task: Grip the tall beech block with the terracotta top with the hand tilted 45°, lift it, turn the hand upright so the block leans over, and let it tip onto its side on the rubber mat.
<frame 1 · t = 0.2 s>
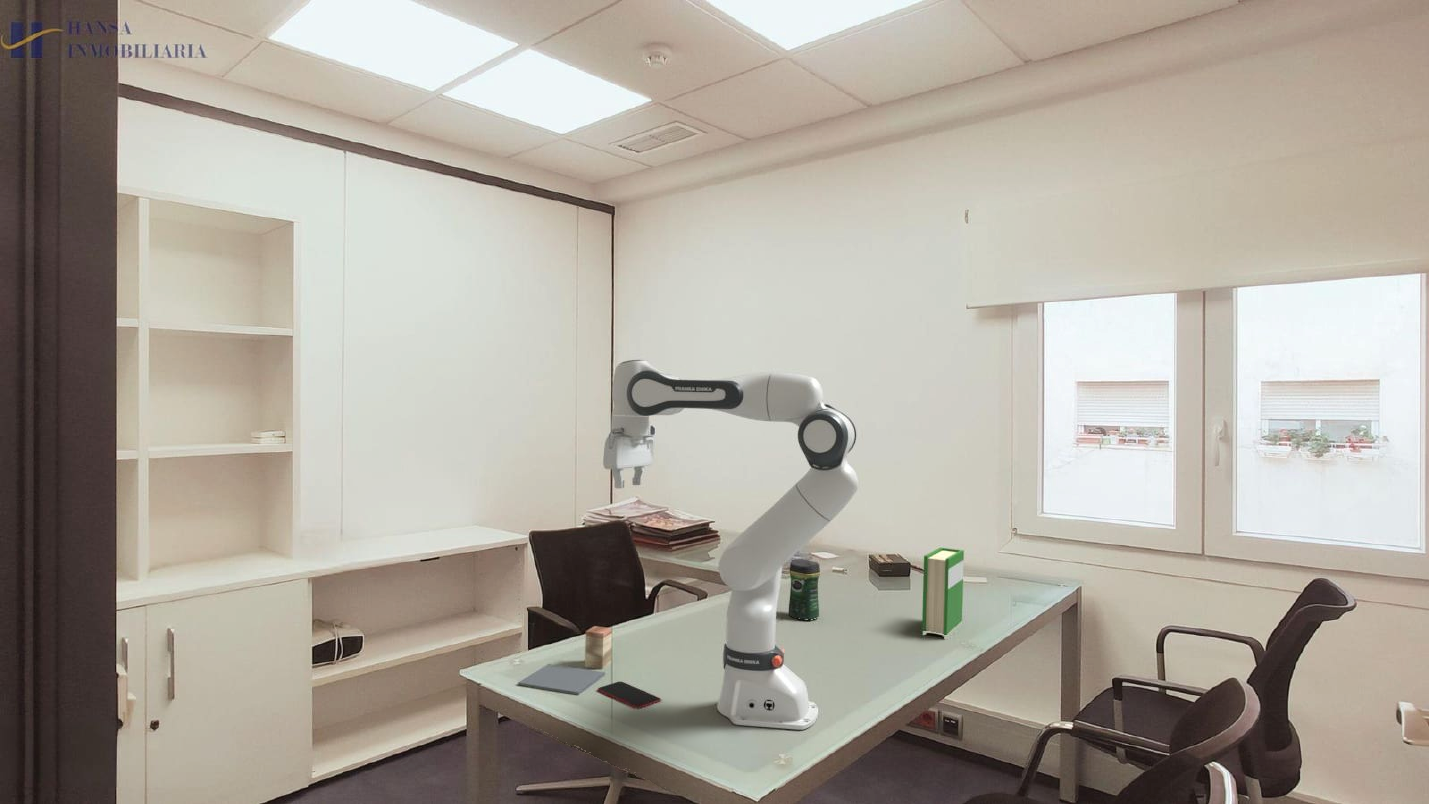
hand: (628, 486, 179), 48 cm above the table, tool pointing down, fingers open, 8 cm apart
smartphone: (628, 698, 175), on the table
hardback book: (942, 631, 234), on the table
coffee jar: (803, 617, 244), on the table
beech block: (597, 664, 195), on the table
rubber mat: (562, 679, 184), on the table
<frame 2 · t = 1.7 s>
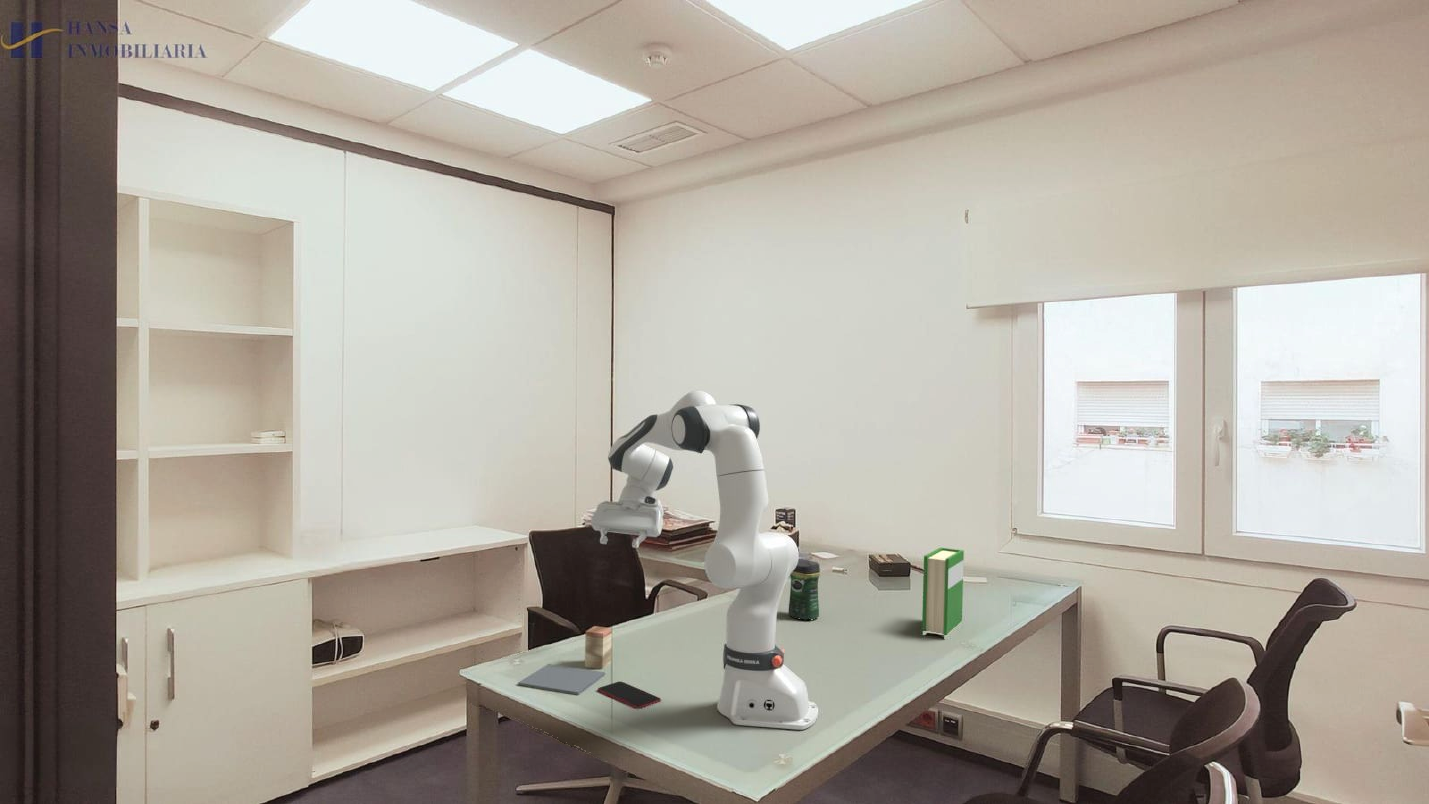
hand: (618, 544, 206), 29 cm above the table, tool tilted 45°, fingers open, 8 cm apart
nothing on the table moved.
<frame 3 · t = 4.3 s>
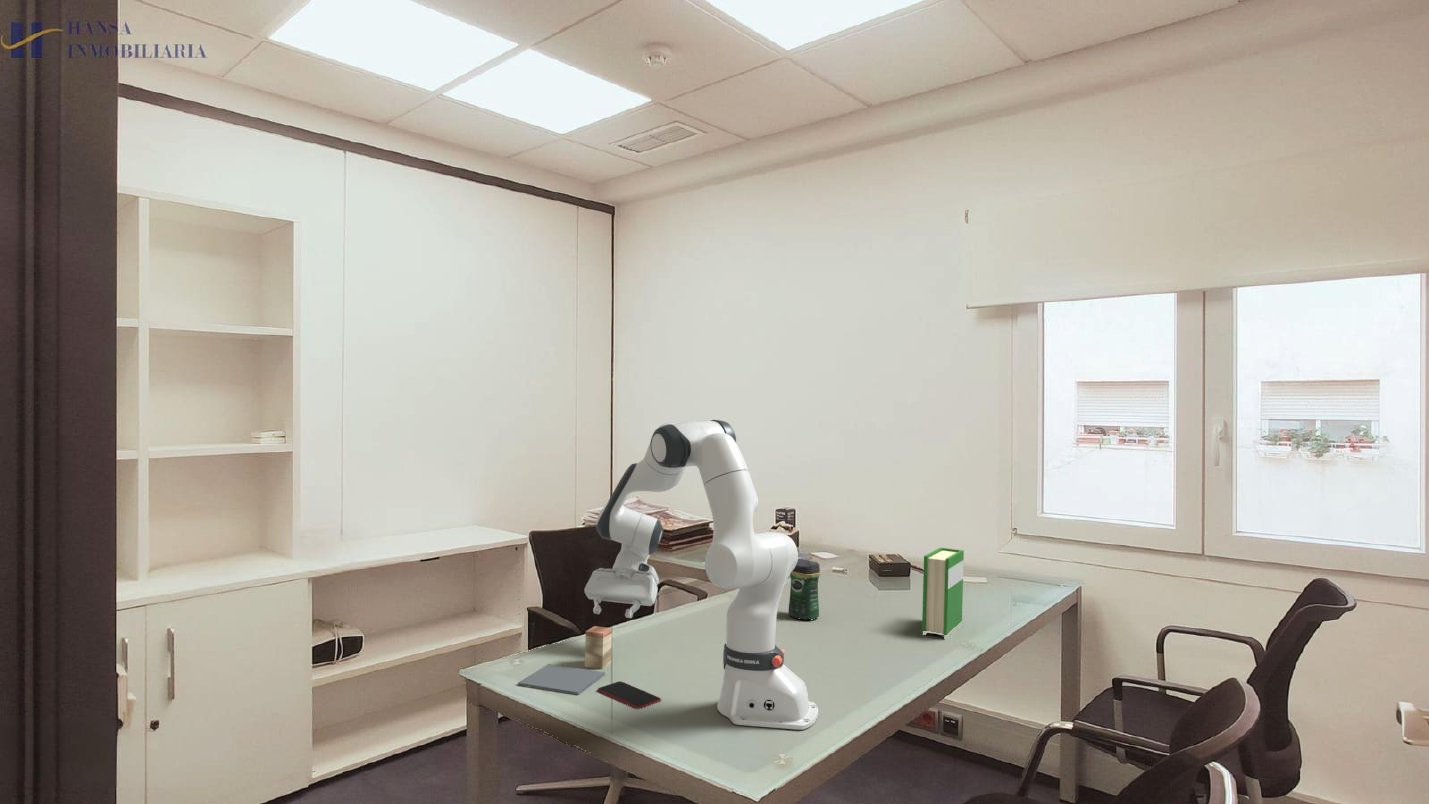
hand: (611, 614, 202), 11 cm above the table, tool tilted 45°, fingers open, 8 cm apart
nothing on the table moved.
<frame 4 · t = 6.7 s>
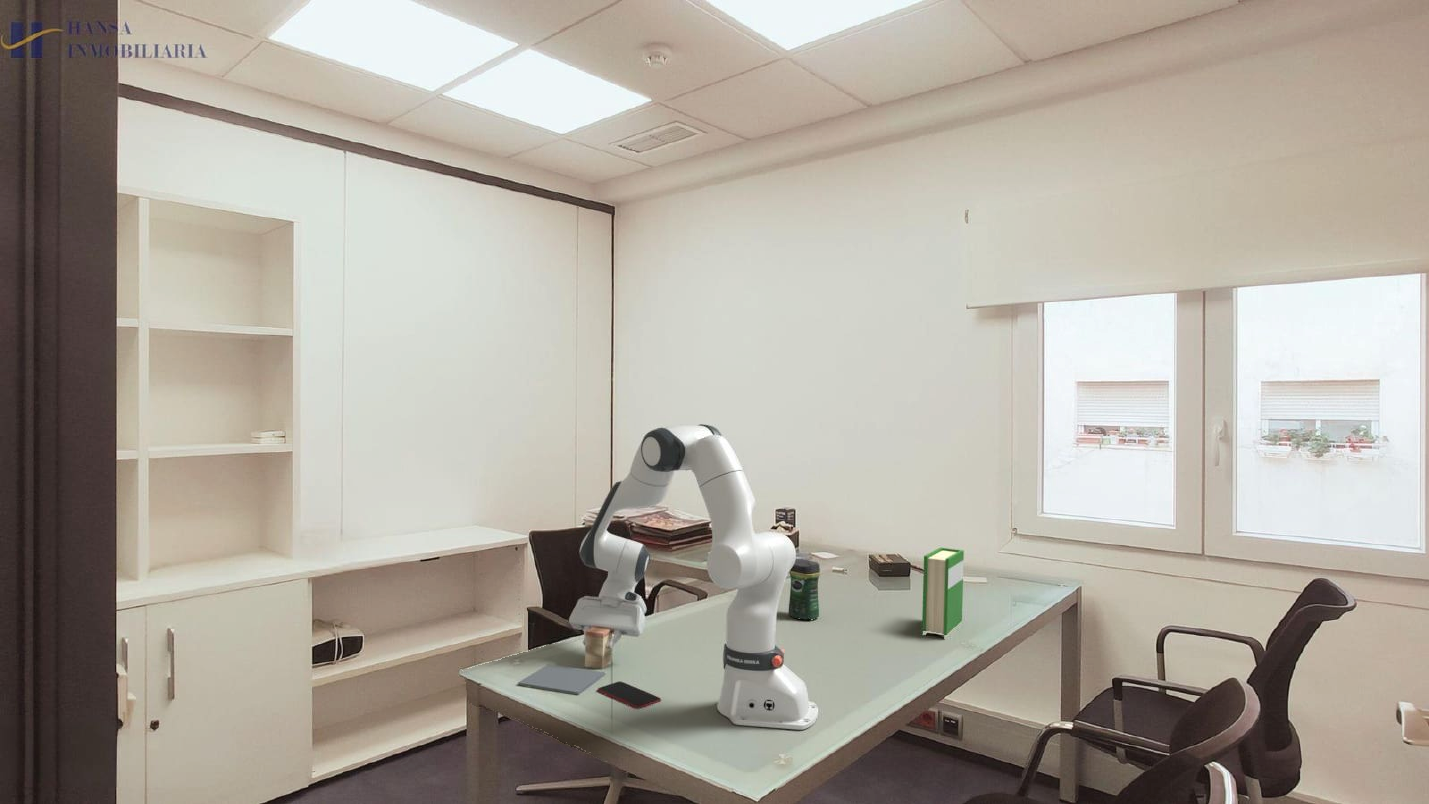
hand: (597, 646, 194), 5 cm above the table, tool tilted 45°, fingers closed on beech block, 5 cm apart
beech block: (597, 664, 195), on the table, touching gripper
everything else where it was.
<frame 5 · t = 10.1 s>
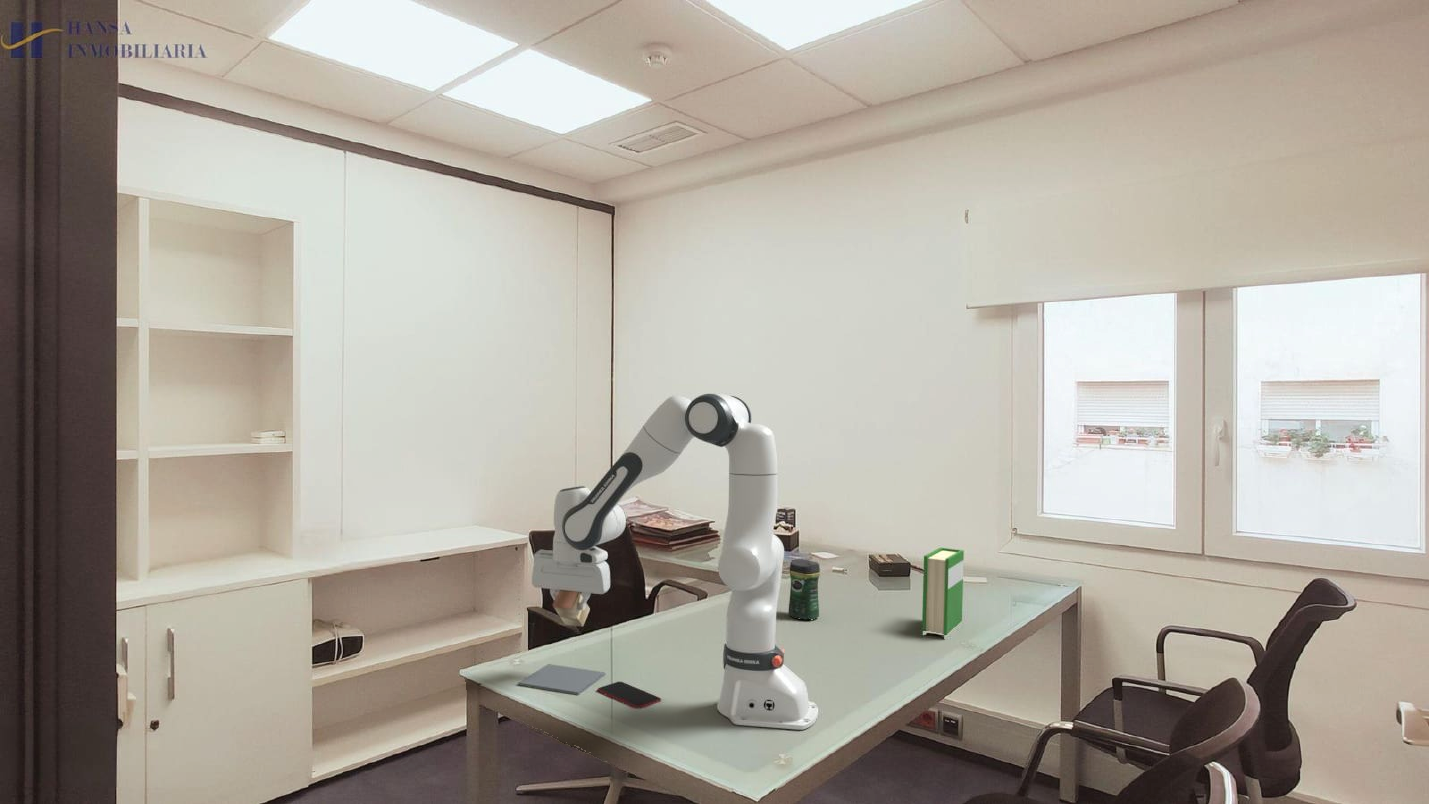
hand: (569, 608, 186), 17 cm above the table, tool pointing down, fingers closed on beech block, 5 cm apart
beech block: (577, 616, 190), point 14 cm above the table, tilted 45°, touching gripper
everything else where it was.
when the fingers open (7 cm above the table, at t = 12.6 s): beech block moves 2 cm and tips over, resting on rubber mat.
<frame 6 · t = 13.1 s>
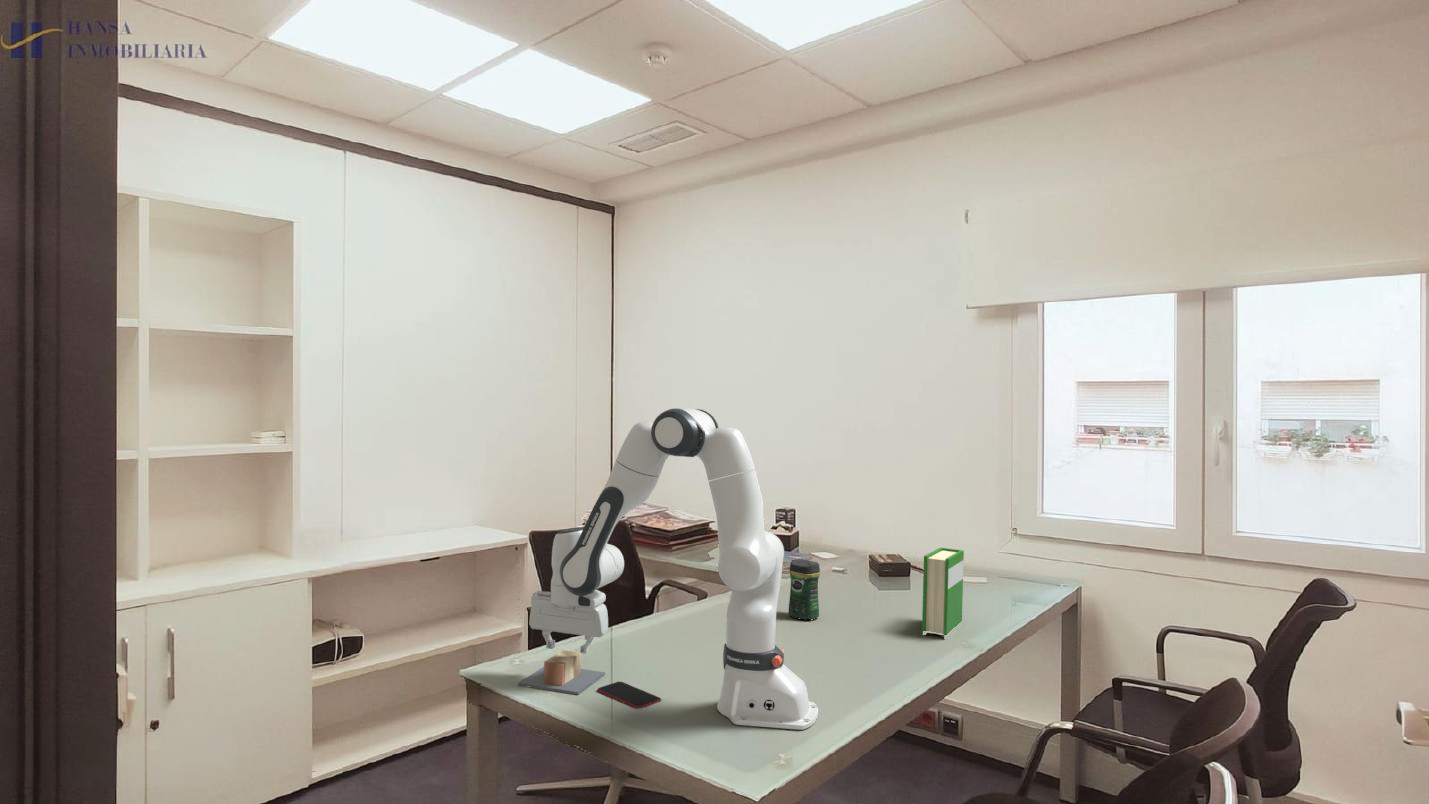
hand: (567, 650, 185), 7 cm above the table, tool pointing down, fingers open, 8 cm apart
beech block: (571, 661, 187), point 3 cm above the table, tilted 90°, touching rubber mat
everything else where it was.
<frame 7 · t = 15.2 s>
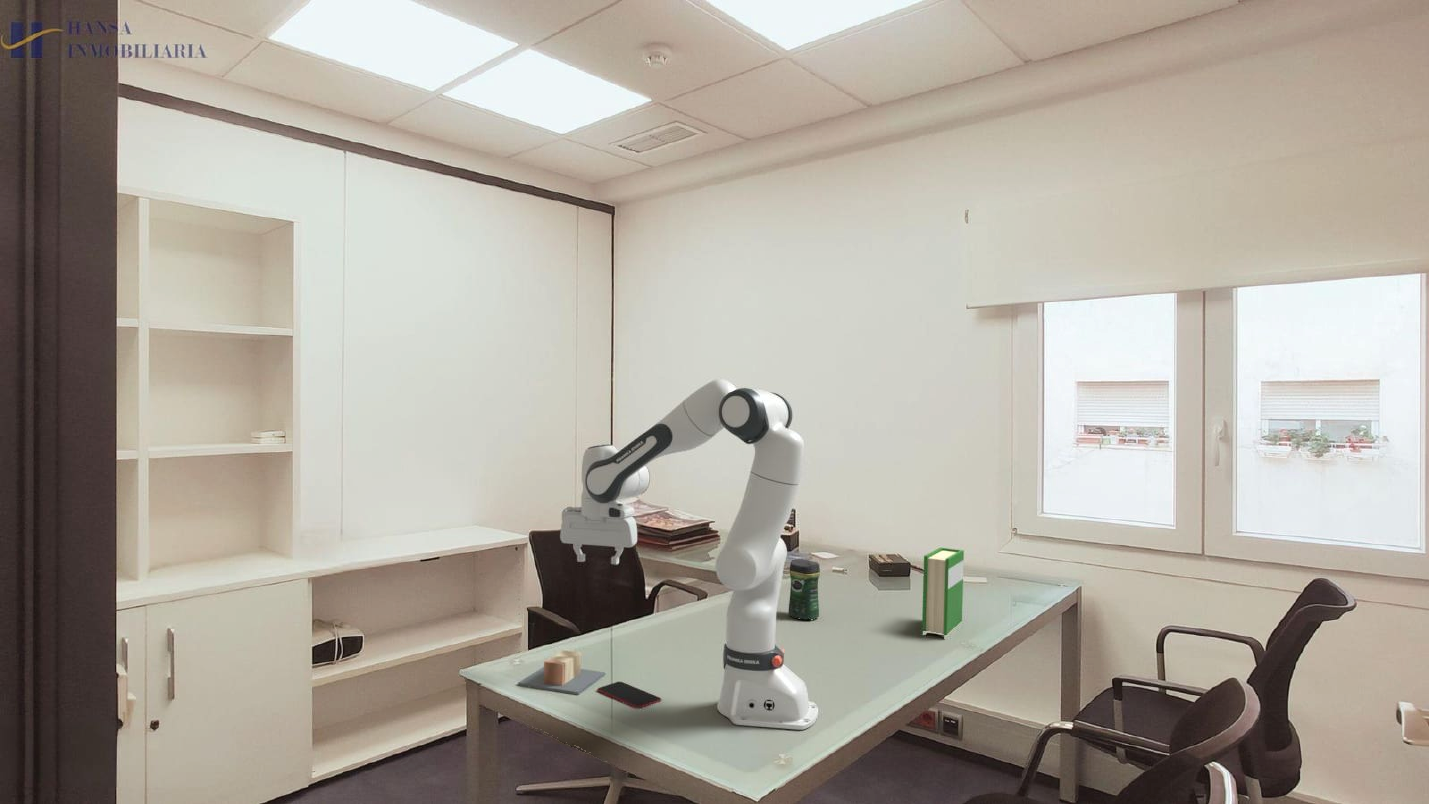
hand: (598, 562, 192), 27 cm above the table, tool pointing down, fingers open, 8 cm apart
nothing on the table moved.
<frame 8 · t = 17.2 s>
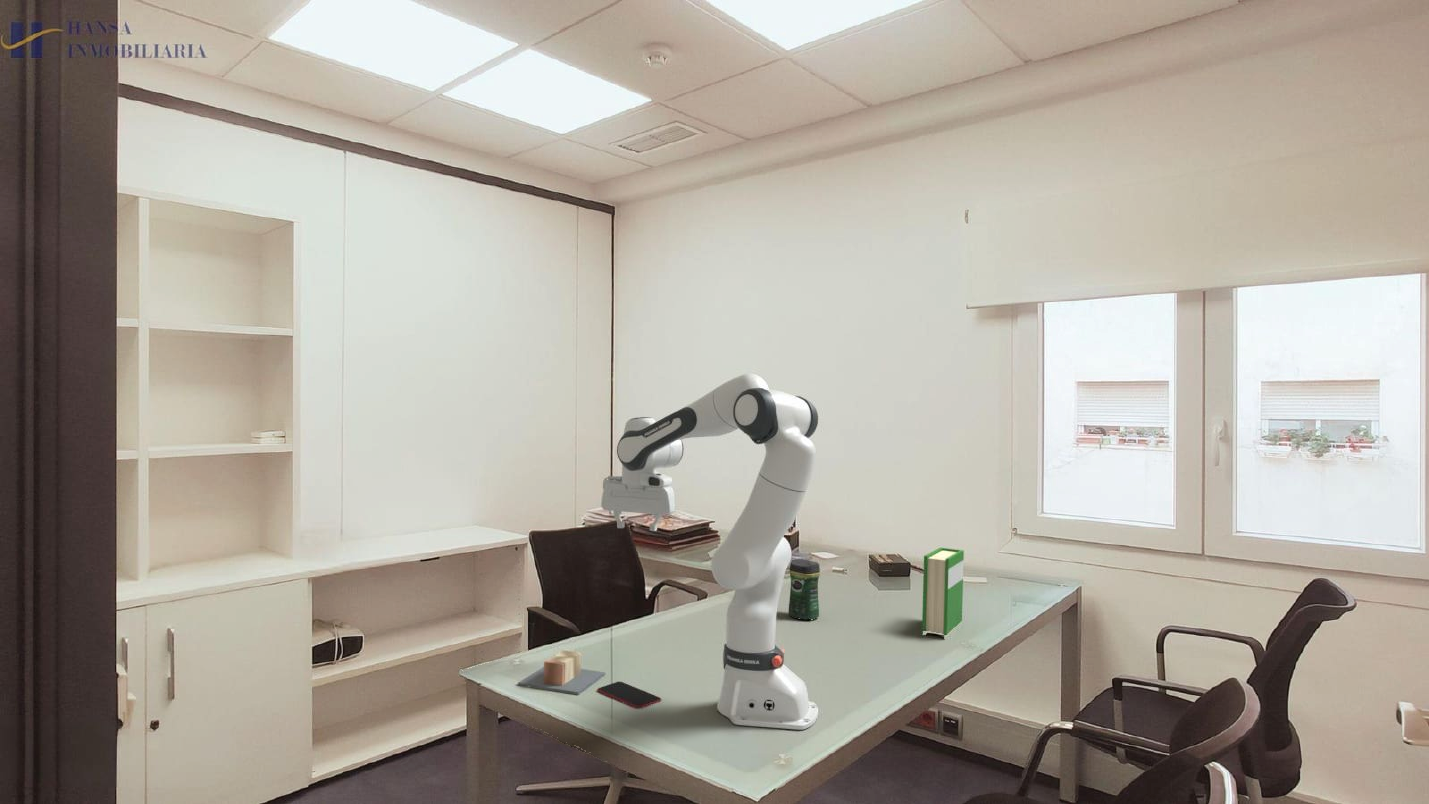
hand: (636, 529, 202), 34 cm above the table, tool pointing down, fingers open, 8 cm apart
nothing on the table moved.
at the end: beech block tilted 90°; beech block touching rubber mat; beech block inside the target area on the rubber mat (4.2 cm from its centre), point 3.1 cm above the rubber mat's base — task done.
